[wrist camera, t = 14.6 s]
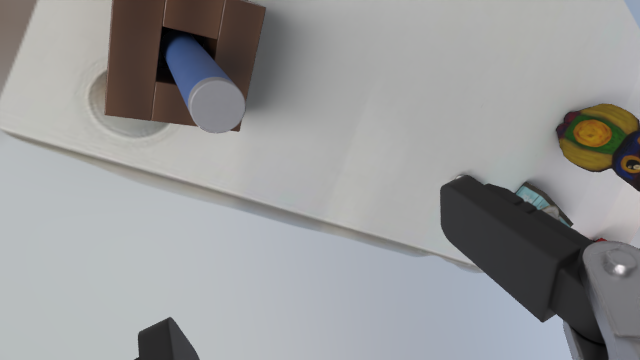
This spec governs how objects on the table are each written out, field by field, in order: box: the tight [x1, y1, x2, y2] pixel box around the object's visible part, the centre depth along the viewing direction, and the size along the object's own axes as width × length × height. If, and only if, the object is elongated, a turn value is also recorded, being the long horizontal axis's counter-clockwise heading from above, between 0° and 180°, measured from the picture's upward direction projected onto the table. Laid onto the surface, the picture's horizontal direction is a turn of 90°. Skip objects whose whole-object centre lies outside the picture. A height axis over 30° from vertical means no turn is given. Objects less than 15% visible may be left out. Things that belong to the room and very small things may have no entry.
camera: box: [516, 182, 579, 233], centre depth 67 cm, size 16×10×10 cm
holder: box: [105, 0, 266, 132], centre depth 31 cm, size 10×10×5 cm
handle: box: [161, 30, 246, 133], centre depth 27 cm, size 3×3×16 cm
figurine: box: [556, 104, 640, 192], centre depth 57 cm, size 10×7×15 cm
